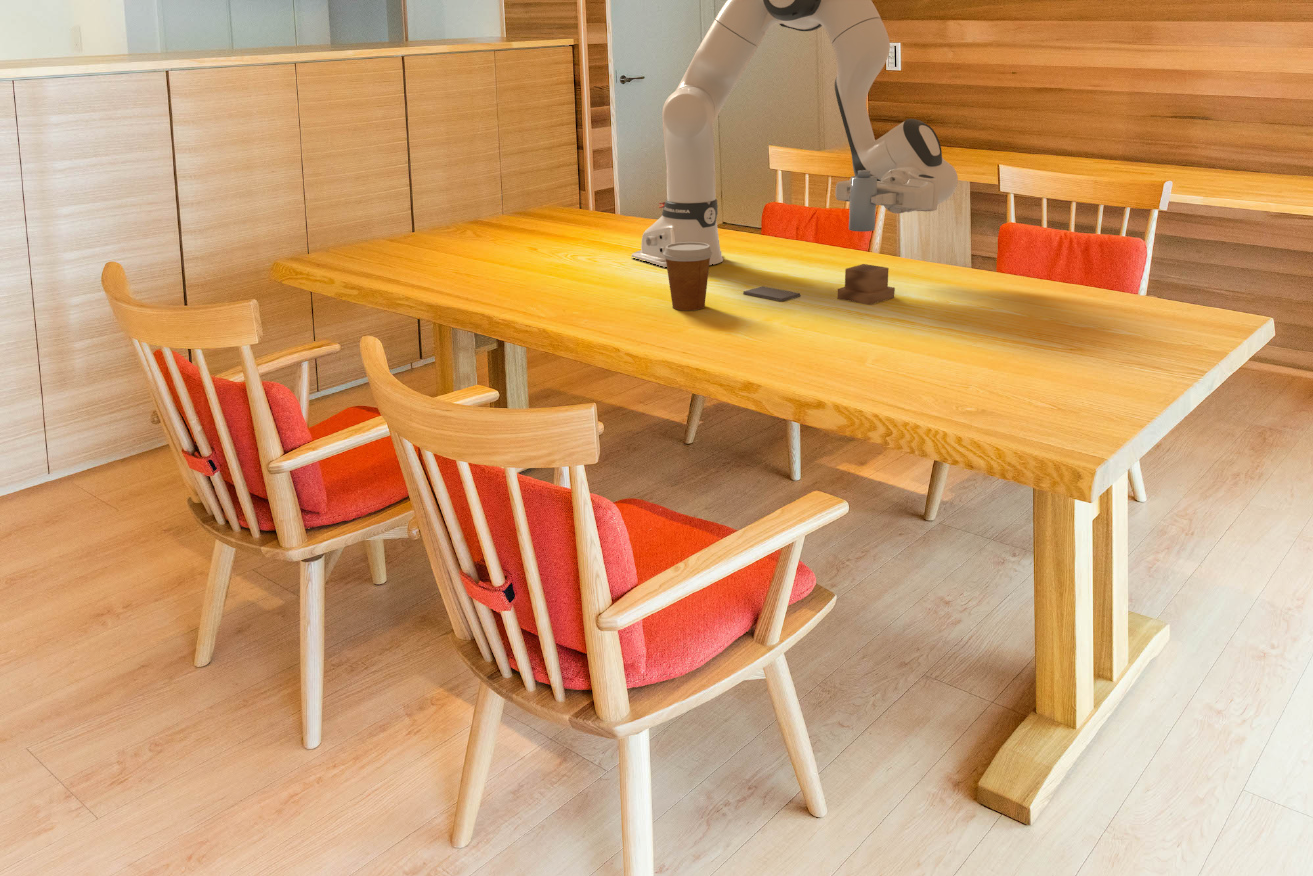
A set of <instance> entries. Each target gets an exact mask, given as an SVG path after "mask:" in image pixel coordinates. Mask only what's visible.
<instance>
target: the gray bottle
mask: <svg viewBox="0 0 1313 876" xmlns="http://www.w3.org/2000/svg"><path fill="white" fill-rule="evenodd" d="M870 173H871V171H870V170H859V171H858V176H855V175H853V176H850V180H851V185H850V202H849V212H848V214H849V215H848V217H849V219H848V230H849V231H852V232H859V233H860V232H863V233H864V232H872V231H875V229H876V214H877V213H876V211H877V210H876V209H877V205H873V204H871V196H872V195H875V194H876V192H877V177H876V176H870Z"/></svg>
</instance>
